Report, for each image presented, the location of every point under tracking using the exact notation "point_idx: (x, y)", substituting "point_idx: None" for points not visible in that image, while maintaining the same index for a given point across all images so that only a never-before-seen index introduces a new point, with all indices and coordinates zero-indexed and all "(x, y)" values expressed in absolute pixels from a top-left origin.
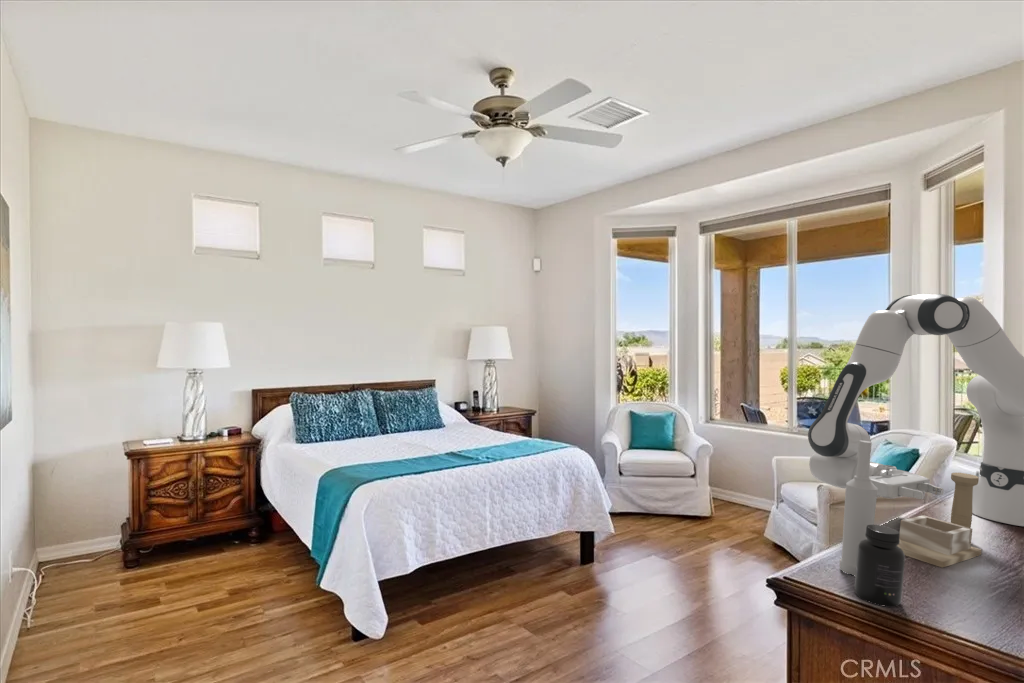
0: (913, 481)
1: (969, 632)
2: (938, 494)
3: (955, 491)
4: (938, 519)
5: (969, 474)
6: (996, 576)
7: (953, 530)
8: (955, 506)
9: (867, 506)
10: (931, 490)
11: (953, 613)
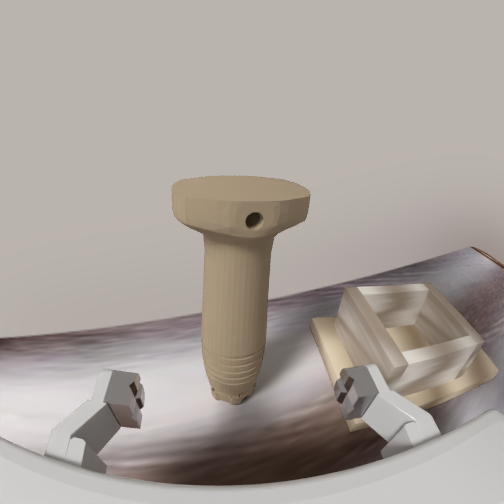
0: (219, 489)
1: (482, 258)
2: (142, 398)
3: (264, 273)
4: (376, 337)
5: (180, 185)
6: None
7: (406, 291)
8: (266, 319)
9: None
10: (104, 432)
11: (481, 268)
